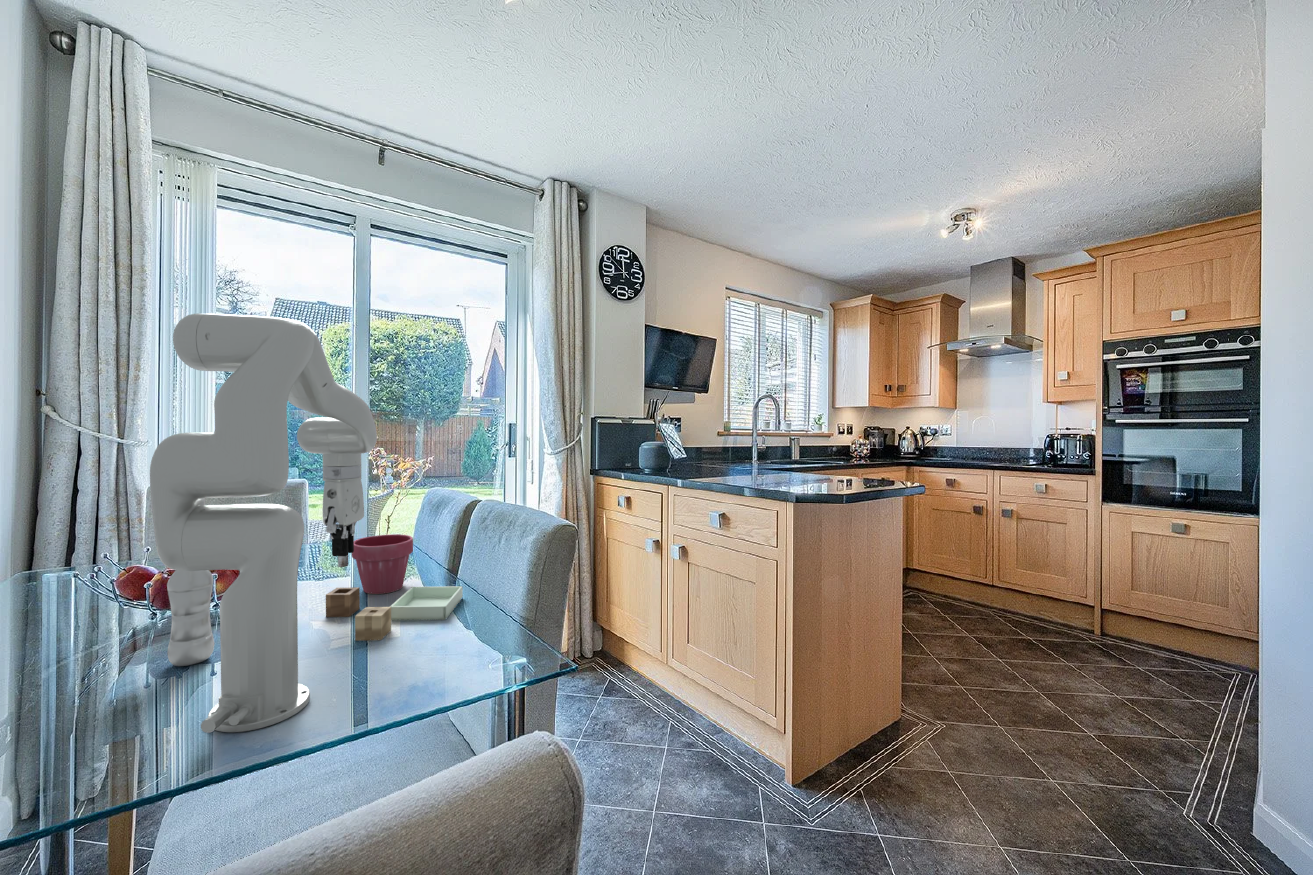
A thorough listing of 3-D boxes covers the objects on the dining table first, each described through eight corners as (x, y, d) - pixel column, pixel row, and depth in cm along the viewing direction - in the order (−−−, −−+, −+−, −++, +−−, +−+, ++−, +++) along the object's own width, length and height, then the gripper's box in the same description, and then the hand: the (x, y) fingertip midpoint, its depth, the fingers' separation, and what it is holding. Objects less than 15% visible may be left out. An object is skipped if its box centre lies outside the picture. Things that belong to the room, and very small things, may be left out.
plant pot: (363, 581, 147) (363, 533, 146) (418, 579, 149) (419, 532, 149) (342, 599, 133) (342, 546, 132) (404, 596, 135) (404, 545, 135)
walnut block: (349, 616, 122) (349, 594, 121) (325, 616, 121) (325, 594, 121) (359, 608, 127) (359, 587, 126) (337, 608, 126) (336, 587, 126)
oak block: (381, 640, 110) (381, 615, 110) (355, 640, 109) (355, 615, 109) (391, 630, 115) (391, 606, 115) (366, 630, 114) (366, 607, 114)
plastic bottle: (158, 672, 95) (156, 558, 94) (181, 655, 101) (179, 548, 100) (202, 668, 96) (201, 556, 96) (222, 652, 103) (220, 547, 102)
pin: (345, 567, 123) (345, 531, 122) (336, 567, 123) (335, 531, 122) (350, 564, 125) (349, 529, 124) (341, 564, 125) (340, 529, 124)
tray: (445, 619, 121) (445, 606, 121) (389, 620, 120) (389, 606, 120) (462, 598, 135) (462, 586, 135) (412, 598, 134) (412, 586, 134)
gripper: (342, 478, 115) (343, 564, 116) (375, 469, 131) (375, 545, 132) (305, 477, 114) (306, 564, 115) (342, 468, 130) (342, 545, 131)
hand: (343, 553), depth 124 cm, fingers closed on pin, 2 cm apart
